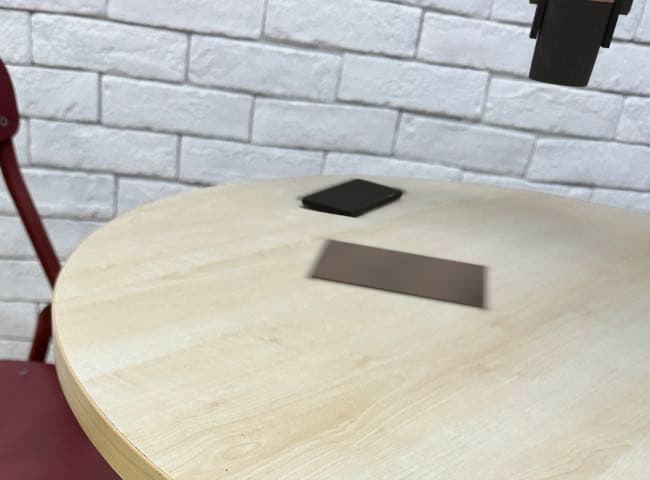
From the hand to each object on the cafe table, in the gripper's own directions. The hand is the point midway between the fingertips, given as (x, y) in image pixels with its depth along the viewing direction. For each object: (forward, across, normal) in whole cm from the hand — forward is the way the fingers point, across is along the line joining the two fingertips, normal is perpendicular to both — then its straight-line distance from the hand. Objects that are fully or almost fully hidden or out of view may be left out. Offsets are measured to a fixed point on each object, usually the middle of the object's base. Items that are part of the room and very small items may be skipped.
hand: (568, 42), depth 101 cm
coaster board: (+19, -13, -38) cm, 44 cm away
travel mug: (+4, 0, 0) cm, 4 cm away
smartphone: (+19, -21, -12) cm, 31 cm away
